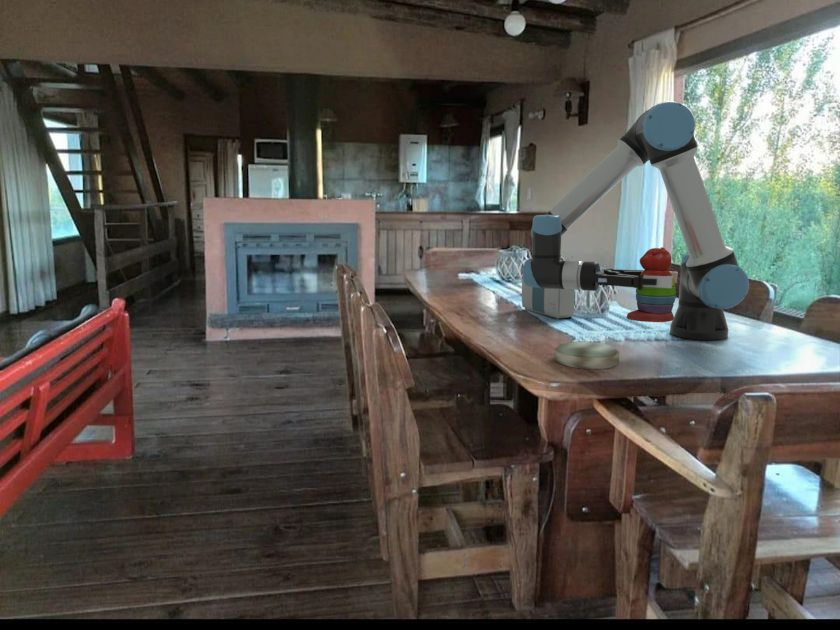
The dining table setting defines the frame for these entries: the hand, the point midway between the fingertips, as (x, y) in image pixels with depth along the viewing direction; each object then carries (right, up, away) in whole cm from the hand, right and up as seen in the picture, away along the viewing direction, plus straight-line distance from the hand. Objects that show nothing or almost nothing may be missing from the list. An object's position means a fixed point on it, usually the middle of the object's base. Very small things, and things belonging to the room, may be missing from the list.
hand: (674, 279), depth 156 cm
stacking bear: (-4, -10, +4) cm, 11 cm away
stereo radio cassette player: (-19, -8, +59) cm, 62 cm away
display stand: (-22, -20, -1) cm, 29 cm away
